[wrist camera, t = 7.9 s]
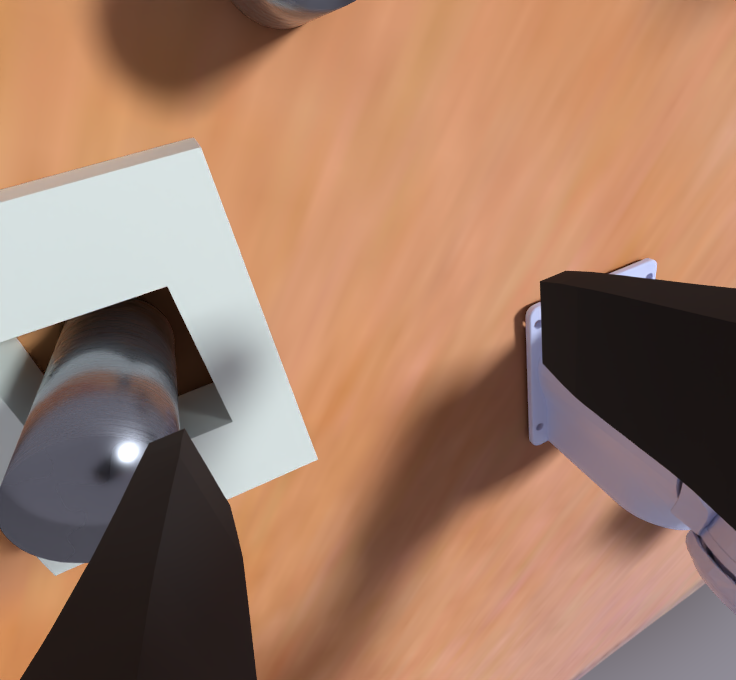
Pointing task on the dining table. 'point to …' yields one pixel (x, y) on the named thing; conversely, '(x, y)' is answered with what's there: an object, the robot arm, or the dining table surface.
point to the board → (140, 276)
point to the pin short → (287, 11)
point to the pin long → (90, 429)
